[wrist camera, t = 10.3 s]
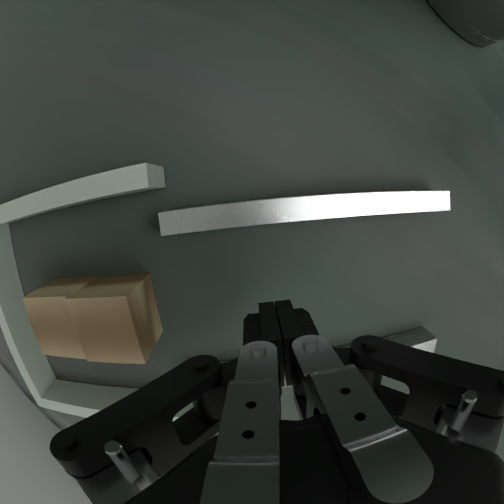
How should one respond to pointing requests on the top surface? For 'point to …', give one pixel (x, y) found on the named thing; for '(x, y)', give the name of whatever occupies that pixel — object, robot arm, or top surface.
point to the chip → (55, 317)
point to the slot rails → (310, 210)
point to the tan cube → (116, 318)
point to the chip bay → (11, 293)
